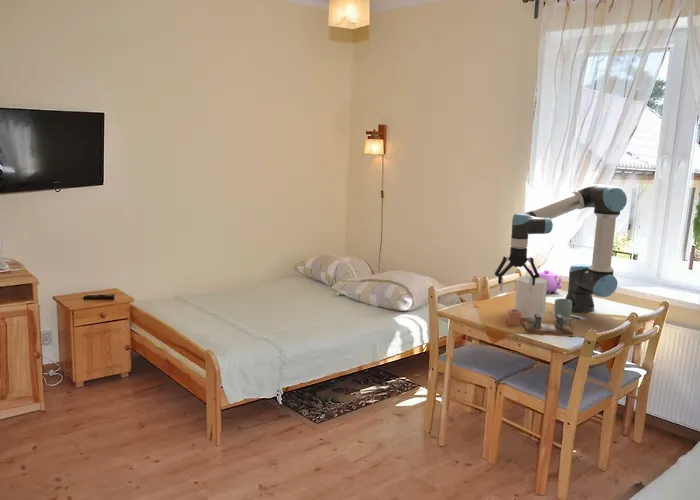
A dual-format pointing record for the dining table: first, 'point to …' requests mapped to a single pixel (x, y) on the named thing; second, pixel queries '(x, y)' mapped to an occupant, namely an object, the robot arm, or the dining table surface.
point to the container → (530, 297)
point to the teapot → (550, 280)
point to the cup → (563, 307)
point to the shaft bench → (548, 325)
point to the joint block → (514, 317)
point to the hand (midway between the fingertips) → (515, 291)
